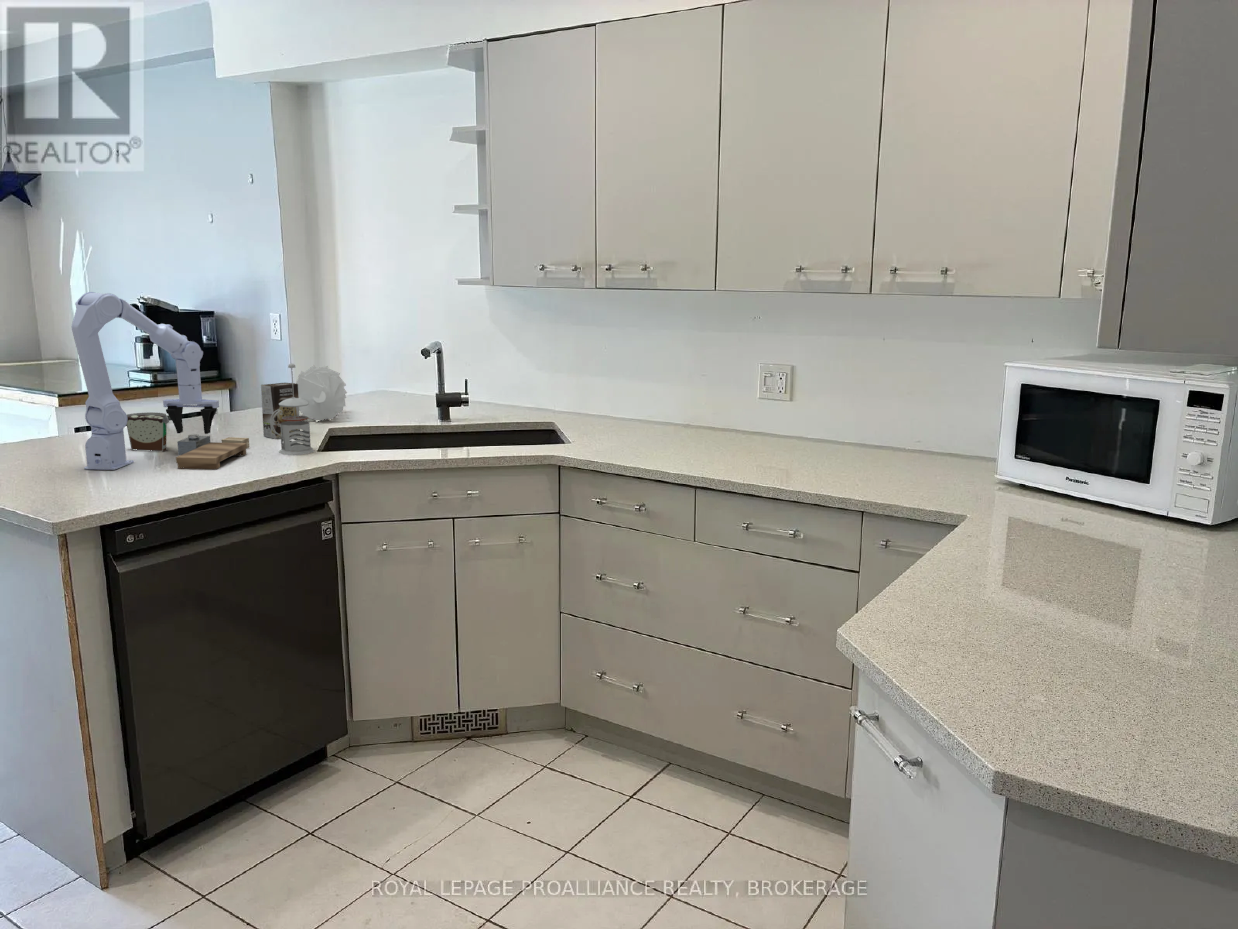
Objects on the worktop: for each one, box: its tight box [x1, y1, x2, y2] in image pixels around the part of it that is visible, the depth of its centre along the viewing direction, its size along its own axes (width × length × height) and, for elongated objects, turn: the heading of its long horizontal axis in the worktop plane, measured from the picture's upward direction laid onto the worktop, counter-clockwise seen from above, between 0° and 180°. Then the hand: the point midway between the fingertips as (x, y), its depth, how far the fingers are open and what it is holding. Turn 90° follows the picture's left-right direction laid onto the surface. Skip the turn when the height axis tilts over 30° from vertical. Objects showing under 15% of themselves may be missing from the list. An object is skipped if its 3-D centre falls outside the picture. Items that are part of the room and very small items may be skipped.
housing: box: [176, 433, 211, 456], centre depth 251 cm, size 9×5×5 cm, turn 1°
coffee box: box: [260, 382, 301, 440], centre depth 275 cm, size 9×6×16 cm
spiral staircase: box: [295, 364, 348, 422], centre depth 309 cm, size 18×18×25 cm
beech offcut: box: [221, 436, 250, 449], centre depth 257 cm, size 4×6×3 cm, turn 83°
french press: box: [270, 362, 316, 456], centre depth 252 cm, size 10×12×25 cm
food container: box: [126, 411, 170, 452], centre depth 254 cm, size 12×6×10 cm, turn 84°
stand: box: [175, 441, 248, 470], centre depth 241 cm, size 20×10×3 cm, turn 0°
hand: (193, 433), depth 251 cm, fingers open, 7 cm apart
